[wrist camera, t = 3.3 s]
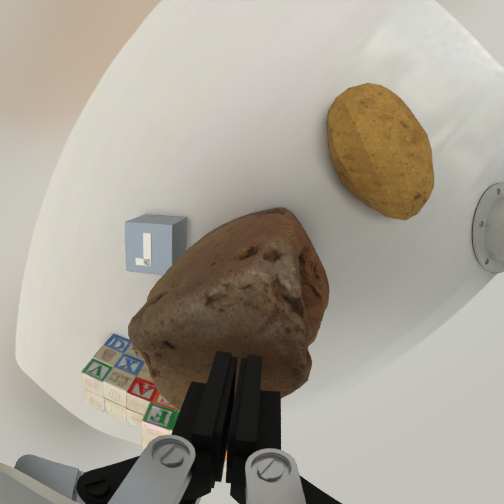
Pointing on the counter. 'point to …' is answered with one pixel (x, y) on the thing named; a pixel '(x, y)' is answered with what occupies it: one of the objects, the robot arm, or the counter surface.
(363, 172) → the potato
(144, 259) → the alphabet block
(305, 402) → the counter surface
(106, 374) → the stack of blocks
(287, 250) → the brown rock
